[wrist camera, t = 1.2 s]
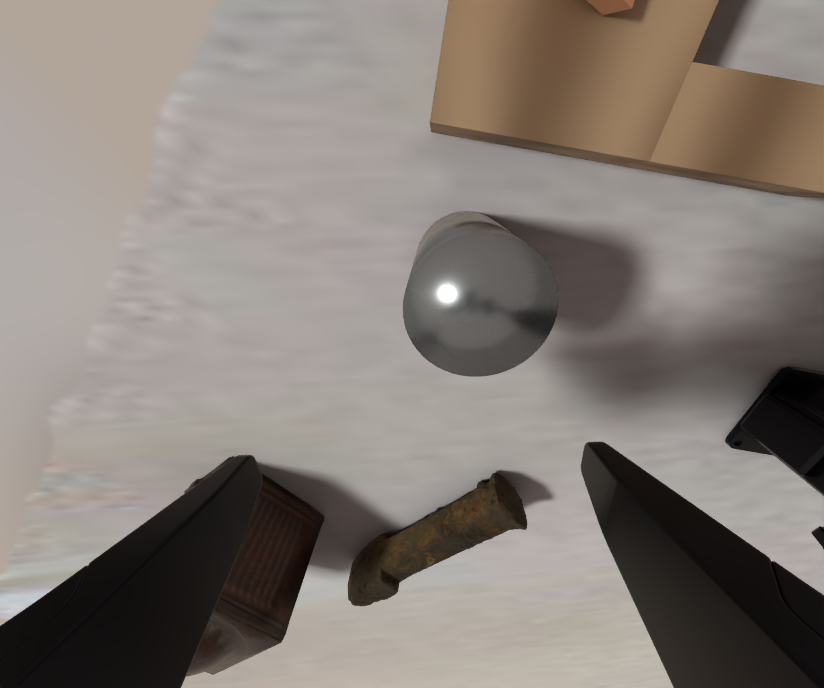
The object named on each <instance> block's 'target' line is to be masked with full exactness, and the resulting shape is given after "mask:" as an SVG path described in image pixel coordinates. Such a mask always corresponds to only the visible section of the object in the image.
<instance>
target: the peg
mask: <svg viewBox="0 0 824 688" xmlns="http://www.w3.org/2000/svg"><path fill="white" fill-rule="evenodd" d="M557 309H558V290H557V285H556V281H555V278H554V275H553V273H552V271H551V269H550V267H549V265H548V264H547V262H546V261H545V259H544V258H543V257H542V256H541V255H540V254H539V253H538V252H537V251H536V250H535V249H533V248H532V247H531V246H530V245H528V244H527V243H526V242H524V241H523V240H521V239H520V238H518V237H517V236H516V235H514V234H513V233H511V232H510V231H509V230H507V229H506V228H504V227H503V226H501V225H500V224H499V223H497V222H496V221H494V220H493V219H491V218H490V217H488V216H486V215H483V214H481V213H477V212H470V211H463V212H456V213H452V214H449V215H447V216H445V217H443V218H441V219H440V220H438V221H437V222H435V223H434V224H433V225H432V226H431V227H430V228H429V229H428V230H427V231H426V233H425V234H424V236H423V238H422V240H421V241H420V244H419V247H418V250H417V253H416V257H415V260H414V263H413V267H412V270H411V274H410V277H409V280H408V284H407V287H406V291H405V295H404V301H403V318H404V323H405V327H406V330H407V333H408V335H409V337H410V339H411V341H412V343H413V345H414V346H415V347H416V349H417V350H418V351H419V352H420V353H421V355H422V356H423V357H425V358H426V359H427V360H428V361H429V362H431V363H432V364H434V365H435V366H437V367H439V368H441V369H443V370H445V371H448V372H451V373H454V374H458V375H463V376H489V375H493V374H498V373H501V372H504V371H507V370H509V369H511V368H514V367H516V366H517V365H519V364H521V363H522V362H524V361H525V360H527V359H528V358H529V357H530V356H532V355H533V354H534V353H535V352H536V351H537V350H538V349H539V348H540V346H541V345H542V344H543V343H544V341H545V340H546V338H547V337H548V335H549V333H550V331H551V329H552V327H553V325H554V322H555V319H556V315H557Z"/></svg>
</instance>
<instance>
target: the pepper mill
mask: <svg viewBox="0 0 824 688" xmlns="http://www.w3.org/2000/svg"><path fill="white" fill-rule="evenodd" d="M232 459H233V457H230V458H228V459H227V460H225V461H224V462H223V463H222V464H220V465H219V466H218V467H216V468H215V469H214V470H213V471H211V472H210V473H209V474H207V475H206V476H205V477H203V478H201V479H197V480H196V481H194V482H193V483H192V484H191V485H190V487H189V488H188V489H187V490H186V491H185V493H186V492H188V491H189V490H191V489H192V488H193V487H195V486H196V485H197V484H199V483H200V482H202V481H203V480H204V479H206V478H207V477H208V476H210V475H211V474H213V473H214V472H215V471H217V470H218V469H219V468H221V467H222V466H223V465H225V464H226V463H228V462H229V461H230V460H232ZM323 522H324V516H322V515H321V514H320V513H319V512H317V511H316V510H315V509H313V508H312V507H311V506H310V505H308V504H307V503H305V502H304V501H302V500H301V499H299V498H298V497H296V496H295V495H293V494H292V493H290V492H289V491H287V490H286V489H284V488H283V487H281V486H279V485H278V484H276V483H275V482H273V481H272V480H270V479H269V478H267V477H266V476H264V475H263V474H262V485H261V488H260V491H259V494H258V497H257V501H256V504H255V507H254V510H253V513H252V516H251V519H250V522H249V526H248V529H247V532H246V534H245V537H244V540H243V542H242V545H241V547H240V550H239V552H238V555H237V557H236V559H235V562H234V564H233V566H232V569H231V571H230V573H229V576H228V578H227V580H226V583H225V585H224V587H223V590H222V592H221V595H220V597H219V599H218V602H217V604H216V606H215V609H214V611H213V613H212V616H211V618H210V620H209V623H208V625H207V627H206V630H205V632H204V634H203V637H202V639H201V641H200V644H199V646H198V649H197V651H196V653H195V656H194V658H193V660H192V663H191V665H190V667H189V670H188V672H187V674H186V676H191V675H195V674H199V673H202V672H207V673H210V674H215V673H218V672H220V671H222V670H225V669H227V668H229V667H231V666H233V665H235V664H237V663H239V662H241V661H243V660H246V659H248V658H250V657H252V656H254V655H256V654H258V653H260V652H262V651H265V650H267V649H269V648H271V647H273V646H275V645H277V644H279V643H281V642H282V640H283V638H284V636H285V634H286V631H287V628H288V624H289V621H290V618H291V615H292V612H293V609H294V606H295V603H296V600H297V597H298V594H299V591H300V588H301V585H302V582H303V579H304V576H305V573H306V570H307V567H308V564H309V561H310V558H311V555H312V552H313V549H314V546H315V543H316V540H317V537H318V534H319V531H320V528H321V526H322V523H323Z"/></svg>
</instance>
